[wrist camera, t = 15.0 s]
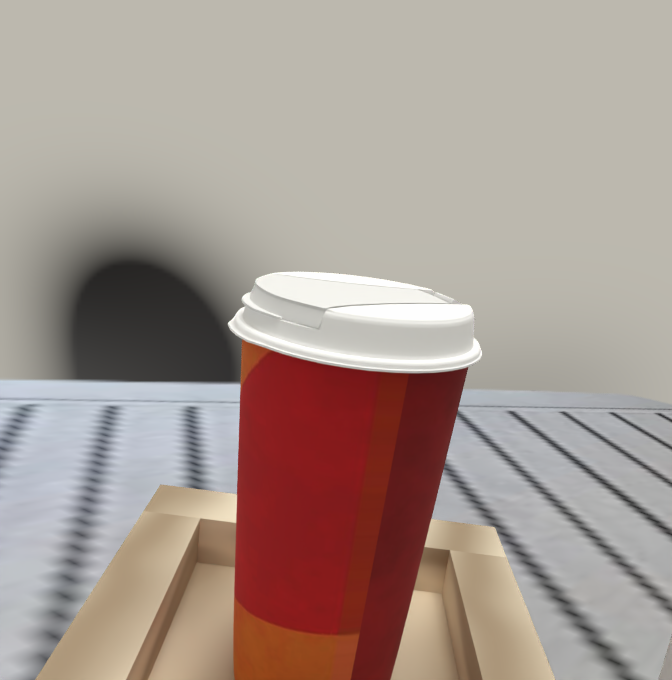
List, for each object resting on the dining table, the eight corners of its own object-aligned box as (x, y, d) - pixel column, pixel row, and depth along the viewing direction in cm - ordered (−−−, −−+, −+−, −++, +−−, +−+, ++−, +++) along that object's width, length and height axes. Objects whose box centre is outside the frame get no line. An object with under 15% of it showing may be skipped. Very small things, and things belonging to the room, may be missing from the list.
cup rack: (483, 582, 31) (494, 527, 30) (610, 983, 16) (639, 890, 15) (157, 540, 31) (160, 484, 30) (-42, 899, 16) (-44, 803, 15)
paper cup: (364, 591, 28) (413, 275, 24) (458, 737, 21) (545, 326, 18) (182, 617, 25) (209, 261, 21) (223, 798, 18) (271, 317, 15)
